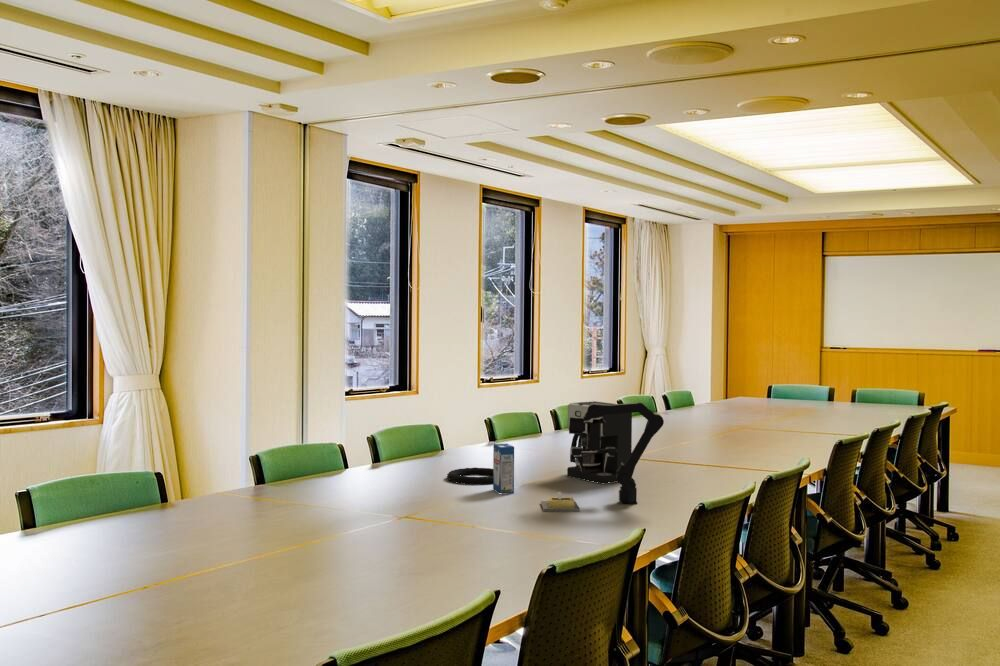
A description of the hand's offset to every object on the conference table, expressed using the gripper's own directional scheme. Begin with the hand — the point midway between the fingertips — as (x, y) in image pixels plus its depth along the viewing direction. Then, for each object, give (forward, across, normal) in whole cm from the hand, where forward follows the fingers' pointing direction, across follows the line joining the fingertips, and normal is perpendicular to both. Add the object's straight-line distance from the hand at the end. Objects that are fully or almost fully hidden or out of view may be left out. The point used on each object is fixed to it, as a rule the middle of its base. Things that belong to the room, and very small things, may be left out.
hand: (593, 472), depth 353 cm
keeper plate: (+12, +15, +11) cm, 22 cm away
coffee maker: (+12, -9, -53) cm, 55 cm away
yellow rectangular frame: (+11, +15, +11) cm, 21 cm away
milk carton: (+12, +36, -20) cm, 43 cm away
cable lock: (+13, +46, -48) cm, 68 cm away
